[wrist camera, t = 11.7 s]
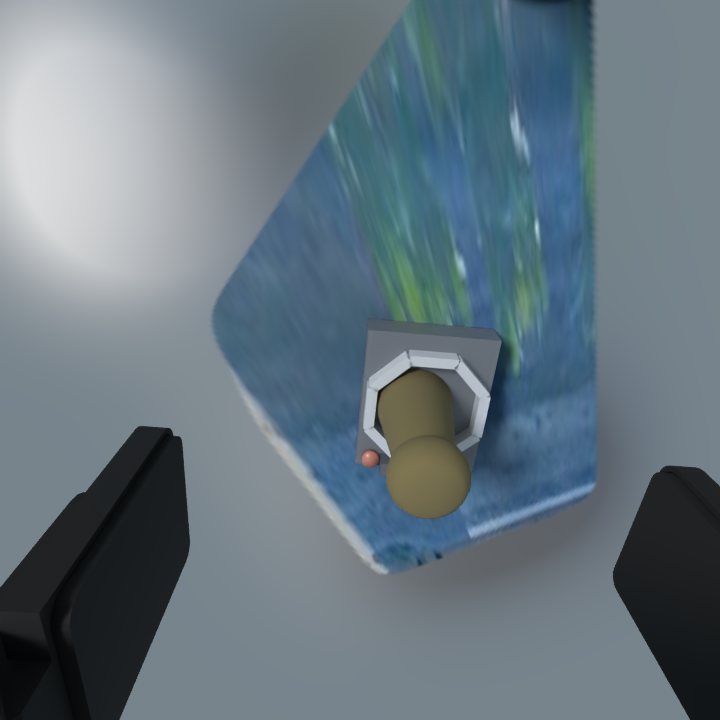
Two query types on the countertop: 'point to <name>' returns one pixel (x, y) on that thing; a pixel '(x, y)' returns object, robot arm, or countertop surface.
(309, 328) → the countertop surface
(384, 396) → the cork
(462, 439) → the octagon ring plate
